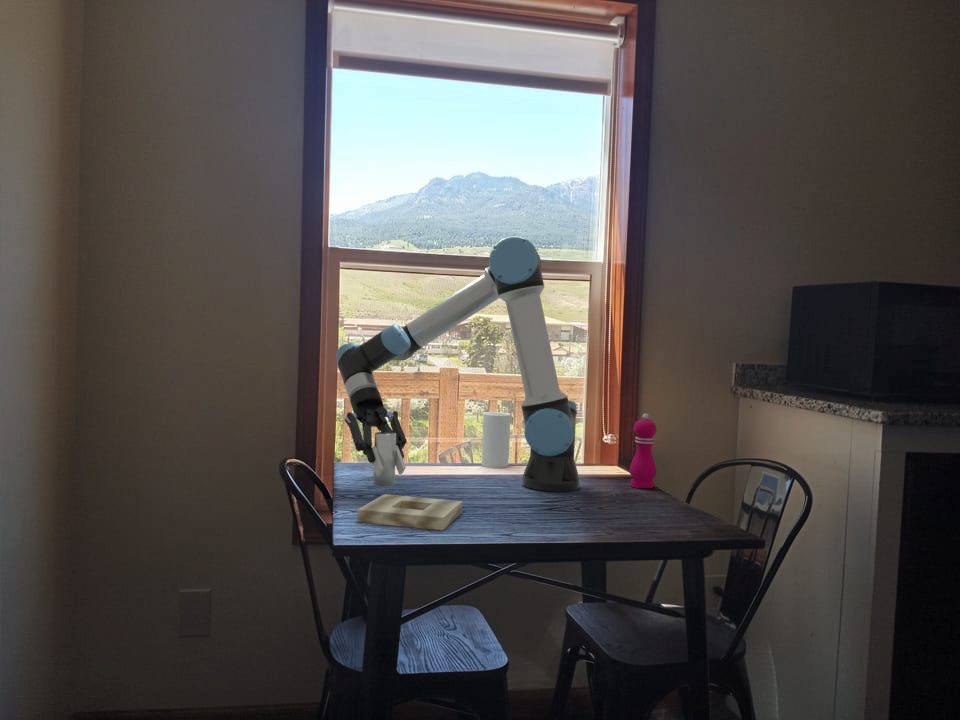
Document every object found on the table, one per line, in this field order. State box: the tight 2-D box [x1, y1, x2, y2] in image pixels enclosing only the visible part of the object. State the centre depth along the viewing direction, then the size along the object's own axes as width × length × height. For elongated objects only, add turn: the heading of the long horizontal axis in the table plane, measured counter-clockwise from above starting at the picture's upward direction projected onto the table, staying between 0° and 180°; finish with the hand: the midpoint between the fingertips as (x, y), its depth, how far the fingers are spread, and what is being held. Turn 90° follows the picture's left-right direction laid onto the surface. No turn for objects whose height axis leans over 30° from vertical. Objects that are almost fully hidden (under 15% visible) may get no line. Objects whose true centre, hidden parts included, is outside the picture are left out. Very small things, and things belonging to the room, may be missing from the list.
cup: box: [481, 411, 512, 469], centre depth 222 cm, size 8×8×16 cm
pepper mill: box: [629, 413, 658, 490], centre depth 198 cm, size 7×7×20 cm
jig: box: [356, 493, 463, 531], centre depth 154 cm, size 18×16×2 cm
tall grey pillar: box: [372, 431, 396, 487], centre depth 172 cm, size 5×5×12 cm
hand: (391, 471), depth 169 cm, fingers closed on tall grey pillar, 5 cm apart
